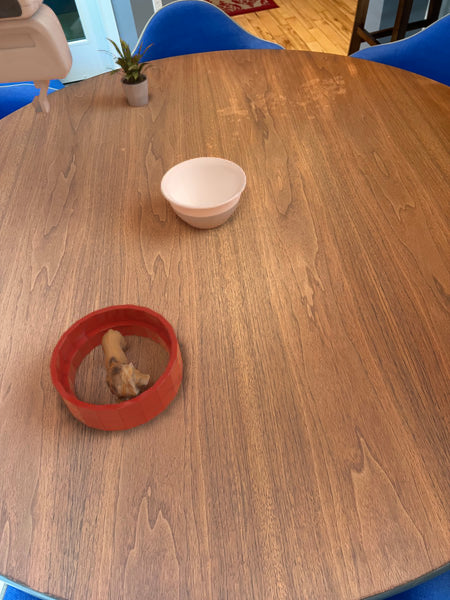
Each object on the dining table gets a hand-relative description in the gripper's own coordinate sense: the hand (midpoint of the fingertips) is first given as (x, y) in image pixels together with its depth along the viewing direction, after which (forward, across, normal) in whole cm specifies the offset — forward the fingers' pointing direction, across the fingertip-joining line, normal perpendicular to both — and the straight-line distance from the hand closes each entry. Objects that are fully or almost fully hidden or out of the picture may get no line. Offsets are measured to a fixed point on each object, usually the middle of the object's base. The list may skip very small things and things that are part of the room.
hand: (8, 114), depth 63 cm
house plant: (+31, +5, +64) cm, 72 cm away
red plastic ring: (+30, +11, -22) cm, 39 cm away
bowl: (+30, +24, +14) cm, 41 cm away
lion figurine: (+30, +12, -23) cm, 40 cm away
